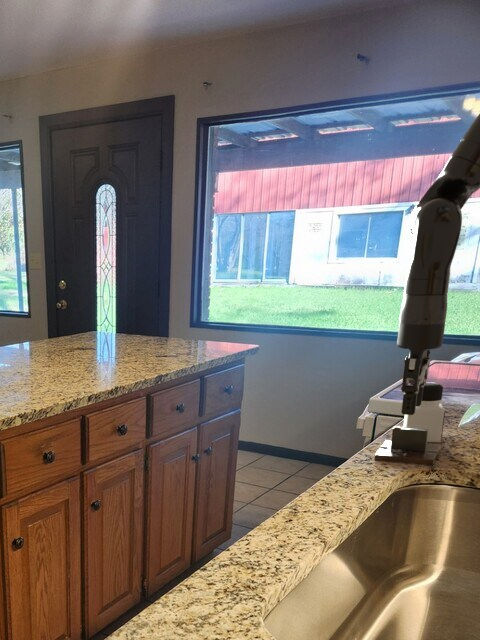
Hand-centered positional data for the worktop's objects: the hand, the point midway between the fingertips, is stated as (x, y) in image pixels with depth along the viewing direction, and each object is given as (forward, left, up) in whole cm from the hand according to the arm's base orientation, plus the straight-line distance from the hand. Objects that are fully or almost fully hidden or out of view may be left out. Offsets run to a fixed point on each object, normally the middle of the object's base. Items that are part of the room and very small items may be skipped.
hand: (411, 409), depth 128 cm
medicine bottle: (0, -22, -11) cm, 25 cm away
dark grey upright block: (0, 0, -8) cm, 8 cm away
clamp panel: (0, 0, -11) cm, 11 cm away
